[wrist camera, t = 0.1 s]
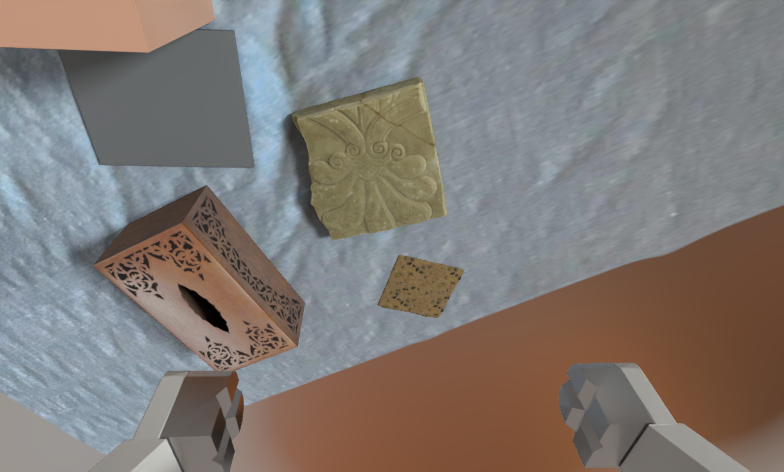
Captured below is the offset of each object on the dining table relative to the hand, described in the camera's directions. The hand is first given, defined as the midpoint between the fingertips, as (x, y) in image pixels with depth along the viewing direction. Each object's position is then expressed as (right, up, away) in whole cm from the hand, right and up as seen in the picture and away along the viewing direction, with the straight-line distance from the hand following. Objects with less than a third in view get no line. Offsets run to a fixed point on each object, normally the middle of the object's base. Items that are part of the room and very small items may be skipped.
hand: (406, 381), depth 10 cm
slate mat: (-29, +20, +42) cm, 55 cm away
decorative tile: (-3, +14, +49) cm, 51 cm away
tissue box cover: (-28, -1, +58) cm, 64 cm away
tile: (-28, +30, +35) cm, 55 cm away
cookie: (+4, -5, +63) cm, 63 cm away
